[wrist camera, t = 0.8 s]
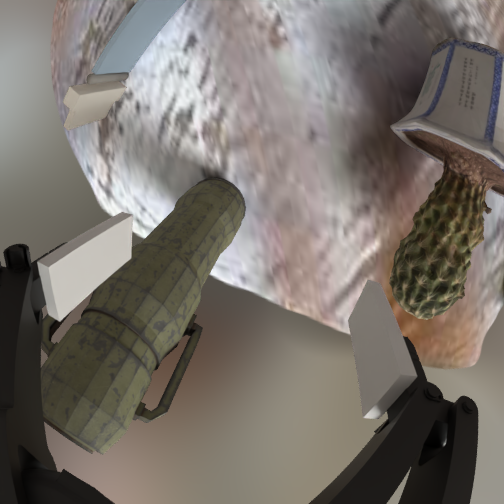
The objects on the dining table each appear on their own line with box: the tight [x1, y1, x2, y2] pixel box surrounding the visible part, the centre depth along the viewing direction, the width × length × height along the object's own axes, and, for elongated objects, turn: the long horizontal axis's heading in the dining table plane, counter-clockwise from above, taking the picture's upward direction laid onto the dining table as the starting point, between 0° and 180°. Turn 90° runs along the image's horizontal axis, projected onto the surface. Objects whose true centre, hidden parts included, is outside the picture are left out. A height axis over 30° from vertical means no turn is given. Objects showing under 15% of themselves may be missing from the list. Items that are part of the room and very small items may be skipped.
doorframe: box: [63, 81, 127, 130], centre depth 23 cm, size 29×2×10 cm, turn 137°
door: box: [87, 0, 186, 84], centre depth 24 cm, size 16×1×8 cm, turn 137°
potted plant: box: [389, 38, 504, 320], centre depth 22 cm, size 18×18×30 cm
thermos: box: [41, 178, 246, 454], centre depth 26 cm, size 9×12×35 cm
